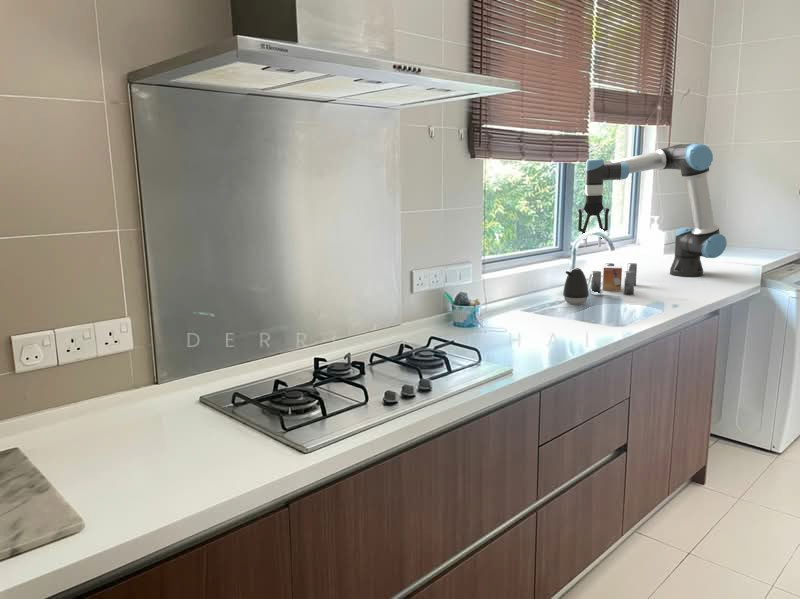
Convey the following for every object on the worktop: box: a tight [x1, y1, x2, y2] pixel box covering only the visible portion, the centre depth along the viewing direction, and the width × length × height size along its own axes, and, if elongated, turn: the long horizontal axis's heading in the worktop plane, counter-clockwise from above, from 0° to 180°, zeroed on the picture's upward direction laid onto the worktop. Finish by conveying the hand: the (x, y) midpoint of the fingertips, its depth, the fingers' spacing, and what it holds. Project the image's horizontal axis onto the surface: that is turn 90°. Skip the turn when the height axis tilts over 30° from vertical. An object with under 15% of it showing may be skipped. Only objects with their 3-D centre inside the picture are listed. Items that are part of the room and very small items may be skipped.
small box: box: [602, 265, 623, 292], centre depth 290 cm, size 8×6×10 cm
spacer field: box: [590, 262, 638, 296], centre depth 289 cm, size 22×24×10 cm
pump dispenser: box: [562, 267, 590, 306], centre depth 265 cm, size 10×10×15 cm
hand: (592, 246), depth 288 cm, fingers open, 5 cm apart
